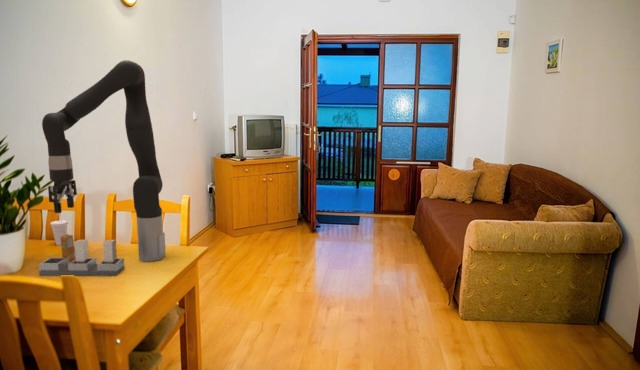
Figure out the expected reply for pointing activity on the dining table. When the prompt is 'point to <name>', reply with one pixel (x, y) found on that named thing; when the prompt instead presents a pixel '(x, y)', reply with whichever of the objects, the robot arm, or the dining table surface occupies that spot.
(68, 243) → the supplement box
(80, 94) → the robot arm
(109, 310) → the dining table surface
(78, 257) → the rail
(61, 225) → the smoothie
